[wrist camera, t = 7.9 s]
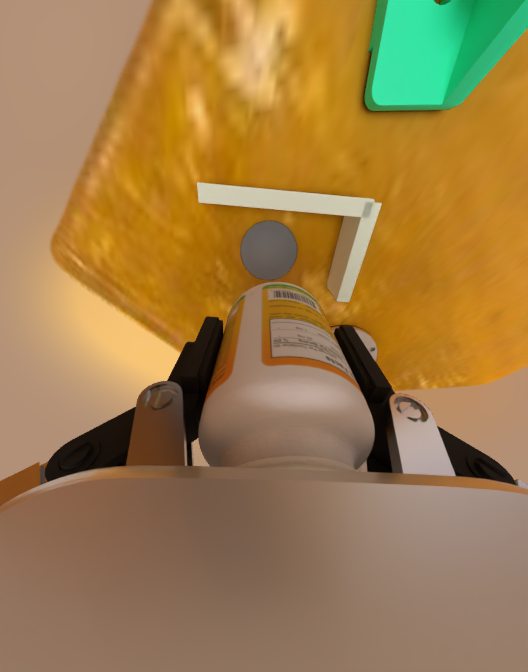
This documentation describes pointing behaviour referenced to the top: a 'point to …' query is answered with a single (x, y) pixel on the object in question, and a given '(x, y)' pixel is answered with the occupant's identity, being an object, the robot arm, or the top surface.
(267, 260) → the pad
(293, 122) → the top surface
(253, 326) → the supplement bottle
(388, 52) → the camera mount
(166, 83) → the top surface
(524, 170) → the top surface
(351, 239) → the corner walls
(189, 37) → the top surface
